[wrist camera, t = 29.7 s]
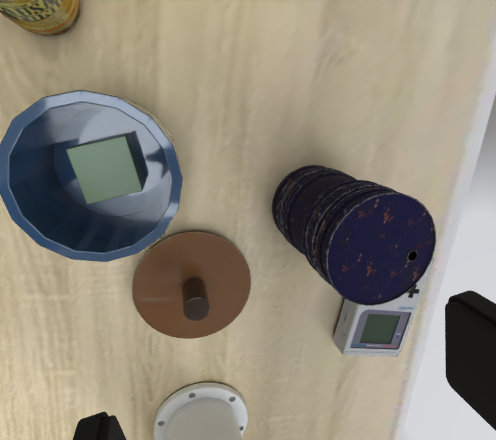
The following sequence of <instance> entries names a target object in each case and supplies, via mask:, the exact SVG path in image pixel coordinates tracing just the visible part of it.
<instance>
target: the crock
mask: <svg viewBox="0 0 496 440" xmlns="http://www.w3.org/2000/svg"><path fill="white" fill-rule="evenodd" d="M128 133H131V134H132V137H133V140H134V143H135V146H136V150H137V153H138V156H139V159H140V162H141V166H142V169H143V172H144V175H145V178H146V182H145V185H144V188H143V191H140V192H136V193H132V194H128V195H124V196H120V197H116V198H112V199H108V200H104V201H99V202H95V203H91V204H87V203H86V201H85V198H84V196H83V193H82V190H81V188H80V185H79V182H78V180H77V177H76V175H75V172H74V169H73V167H72V164H71V161H70V159H69V156H68V154H67V151H66V149H68V148H70V147H73V146H76V145H79V144H83V143H87V142H92V141H96V140H101V139H105V138H110V137H114V136H119V135H123V134H128ZM181 186H182V173H181V168H180V163H179V159H178V155H177V152H176V148H175V144H174V141H173V138H172V136H171V135H170V133H169V132H168V131H167V129H166V128H165V126H164V125H163V124H162V123H161V121H160V120H159V119H158V117H156V116H155V115H154V114H152V113H151V112H149V111H147V110H146V109H144V108H143V107H141V106H139V105H138V104H136V103H135V102H132V101H129V100H126V99H123V98H120V97H116V96H111V95H106V94H101V93H96V92H90V91H85V90H77V91H72V92H67V93H62V94H57V95H52V96H47V97H44V98H41V99H40V100H38V101H37V102H36V103H34V104H33V105H31V106H30V107H29V108H27V109H26V110H25V111H23V112H22V113H21V114H19V115H18V116H16V117H15V118H14V119H13V120H12V122H11V124H10V126H9V128H8V130H7V132H6V134H5V136H4V138H3V140H2V142H1V144H0V195H1V197H2V199H3V201H4V203H5V206H6V208H7V210H8V212H9V214H10V216H11V218H12V220H13V221H14V222H15V223H16V224H17V225H18V226H19V227H20V228H21V229H22V230H23V231H25V232H26V233H27V234H28V235H29V236H30V237H31V238H32V239H33V240H34V241H35V242H36V243H37V244H39V245H40V246H42V247H45V248H47V249H49V250H51V251H54V252H56V253H58V254H61V255H63V256H65V257H68V258H70V259H75V260H88V261H101V262H108V261H111V260H115V259H119V258H122V257H126V256H130V255H134V254H137V253H139V252H140V251H142V250H143V249H144V248H146V247H147V246H148V245H150V244H151V243H153V242H154V241H155V240H157V239H158V238H159V237H161V236H162V235H163V234H164V232H165V230H166V229H167V227H168V226H169V224H170V222H171V221H172V219H173V217H174V216H175V214H176V212H177V211H178V208H179V201H180V194H181Z"/></svg>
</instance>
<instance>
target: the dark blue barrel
mask: <svg viewBox="0 0 496 440" xmlns="http://www.w3.org/2000/svg"><path fill="white" fill-rule="evenodd" d="M272 213H273V219H274V221H275V224H276V226H277V228H278V229H279V230H280V232H281V233H282V234H283V235H284V237H285V238H286V239H287V241H288V242H289V243H290V244H291V245H292V246H294V247H295V248H296V249H297V250H298V251H299V252H301V253H302V254H304V255H305V256H306V258H307V260H308V262H309V263H310V265H311V266H312V267H313V268H314V269H315V270H316V271H317V272H318V273H319V275H320V276H321V277H322V278H323V279H324V280H325V281H326V282H328V283H329V284H330V285H332V286H333V288H334V289H335V290H336V291H337V292H338V293H339V294H340V295H341V296H342V297H344V298H345V299H347V300H348V301H350V302H353V303H355V304H359V305H365V306H375V305H381V304H385V303H388V302H391V301H393V300H395V299H397V298H399V297H401V296H402V295H404V294H405V293H407V292H408V291H409V290H410V289H412V288H413V287H414V286H415V285H416V284H417V283H418V282H419V280H420V279H421V278H422V276H423V275H424V274H425V272H426V270H427V269H428V267H429V265H430V262H431V260H432V257H433V254H434V251H435V244H436V230H435V225H434V222H433V219H432V216H431V215H430V213H429V211H428V210H427V209H426V207H425V206H424V205H423V204H422V203H421V202H419V201H418V200H417V199H415V198H413V197H411V196H408V195H405V194H402V193H399V192H397V191H395V190H393V189H391V188H388V187H385V186H382V185H379V184H376V183H374V182H370V181H363V180H356V179H355V178H353V177H351V176H349V175H347V174H345V173H343V172H341V171H338V170H335V169H331V168H326V167H323V166H317V165H311V166H305V167H301V168H299V169H297V170H295V171H293V172H291V173H290V174H289V175H288V176H286V177H285V179H284V180H283V181H282V182H281V183H280V185H279V186H278V188H277V190H276V192H275V195H274V198H273V203H272Z"/></svg>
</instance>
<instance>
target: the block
mask: <svg viewBox="0 0 496 440" xmlns="http://www.w3.org/2000/svg"><path fill="white" fill-rule="evenodd" d="M66 151H67V154H68V156H69V159H70V161H71V164H72V167H73V169H74V172H75V175H76V177H77V180H78V182H79V185H80V188H81V190H82V193H83V196H84V198H85V201H86V203H87V204H91V203H95V202H99V201H104V200H108V199H112V198H116V197H120V196H124V195H128V194H132V193H136V192H140V191H143V188H144V185H145V182H146V178H145V175H144V172H143V169H142V166H141V162H140V159H139V156H138V153H137V150H136V146H135V143H134V140H133V137H132V134H131V133H128V134H123V135H119V136H114V137H110V138H105V139H101V140H96V141H92V142H87V143H83V144H79V145H76V146H73V147H70V148H68V149H66Z"/></svg>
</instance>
